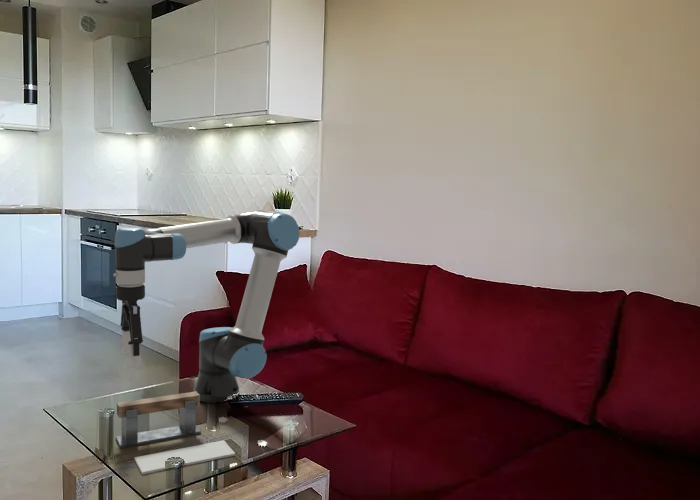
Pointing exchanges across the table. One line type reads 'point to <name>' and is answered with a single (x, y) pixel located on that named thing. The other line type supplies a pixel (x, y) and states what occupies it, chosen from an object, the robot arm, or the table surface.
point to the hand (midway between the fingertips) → (131, 359)
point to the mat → (184, 456)
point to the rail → (157, 403)
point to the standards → (134, 438)
